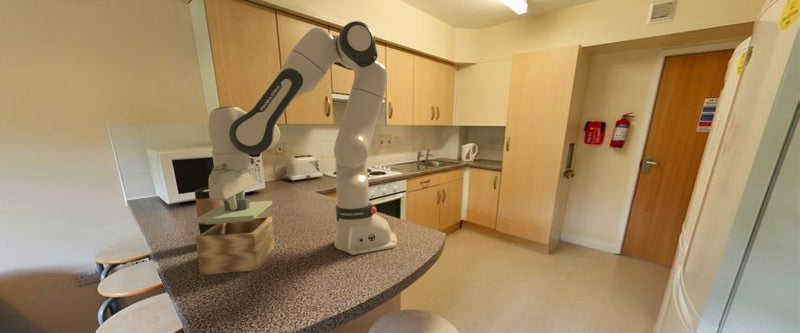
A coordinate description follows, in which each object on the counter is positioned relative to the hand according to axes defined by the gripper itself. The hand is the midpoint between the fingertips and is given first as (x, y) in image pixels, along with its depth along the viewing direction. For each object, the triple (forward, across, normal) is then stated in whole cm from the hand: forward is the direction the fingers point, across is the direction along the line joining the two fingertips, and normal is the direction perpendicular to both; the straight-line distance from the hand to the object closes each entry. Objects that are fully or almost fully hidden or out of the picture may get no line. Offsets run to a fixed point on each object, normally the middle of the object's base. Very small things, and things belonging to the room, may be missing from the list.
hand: (237, 207), depth 76 cm
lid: (+3, 0, 0) cm, 3 cm away
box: (+17, 0, +1) cm, 17 cm away
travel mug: (+17, +14, +16) cm, 27 cm away
